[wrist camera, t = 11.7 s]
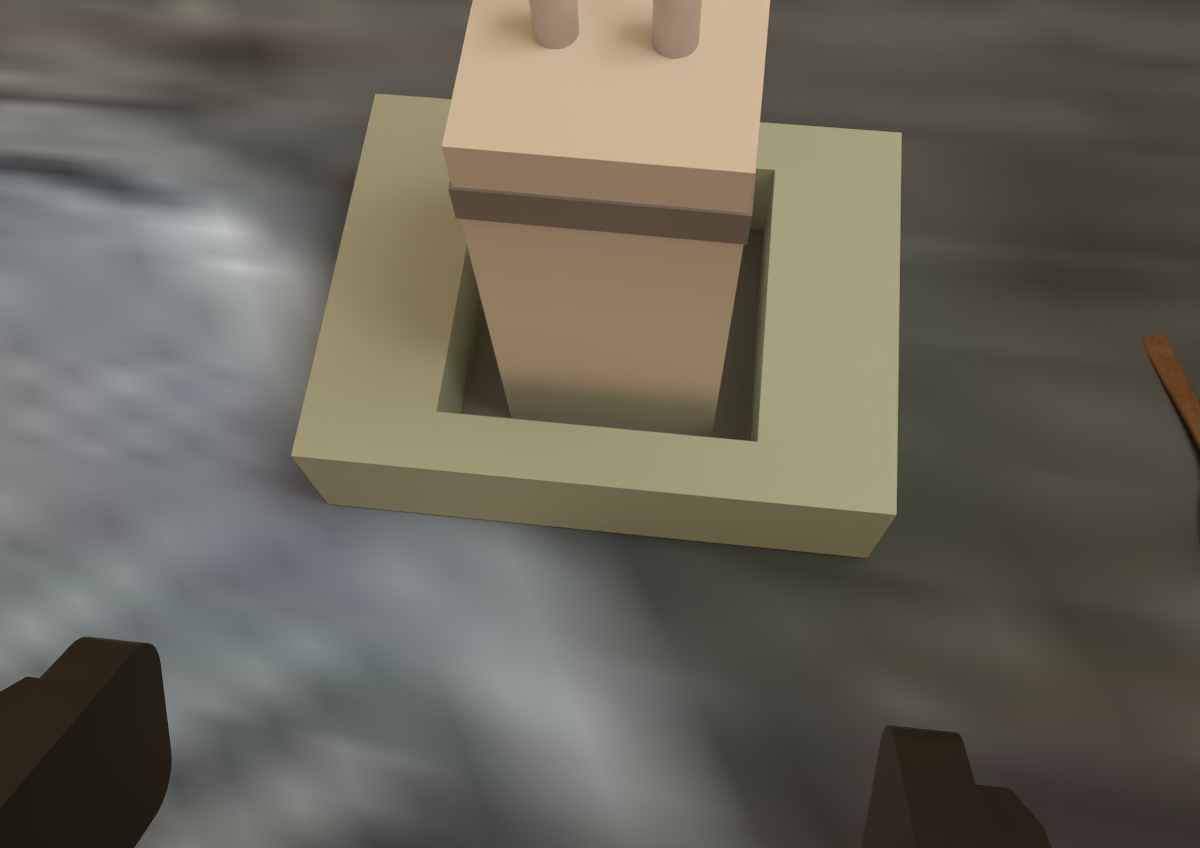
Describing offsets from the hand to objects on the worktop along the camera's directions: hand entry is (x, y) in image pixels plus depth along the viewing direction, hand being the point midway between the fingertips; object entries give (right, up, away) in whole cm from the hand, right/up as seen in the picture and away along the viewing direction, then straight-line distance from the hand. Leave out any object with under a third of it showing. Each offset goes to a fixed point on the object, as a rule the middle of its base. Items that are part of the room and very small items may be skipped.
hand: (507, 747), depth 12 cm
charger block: (+1, +5, +14) cm, 15 cm away
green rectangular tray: (+1, +5, +14) cm, 15 cm away
